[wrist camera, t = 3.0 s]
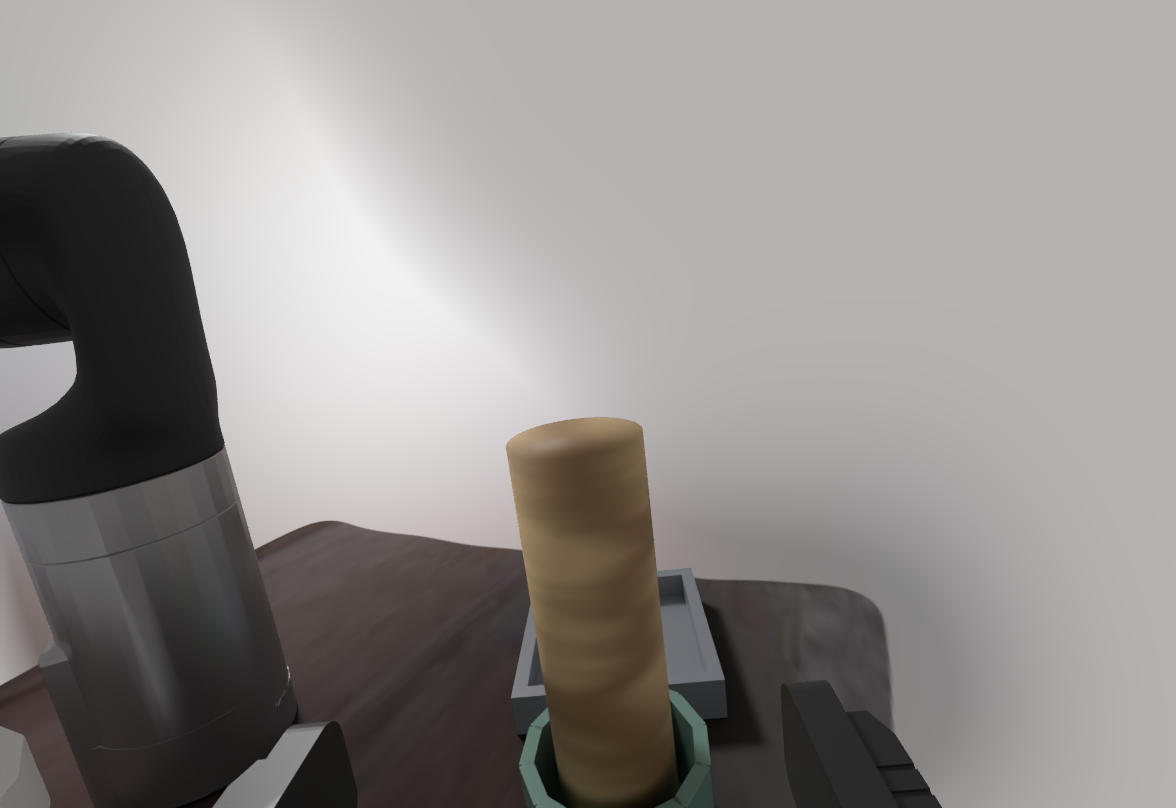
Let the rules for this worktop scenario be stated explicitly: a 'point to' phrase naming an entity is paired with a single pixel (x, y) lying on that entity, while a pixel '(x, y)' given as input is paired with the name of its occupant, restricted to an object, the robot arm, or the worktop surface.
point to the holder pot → (690, 750)
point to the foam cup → (19, 774)
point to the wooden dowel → (596, 609)
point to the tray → (685, 653)
